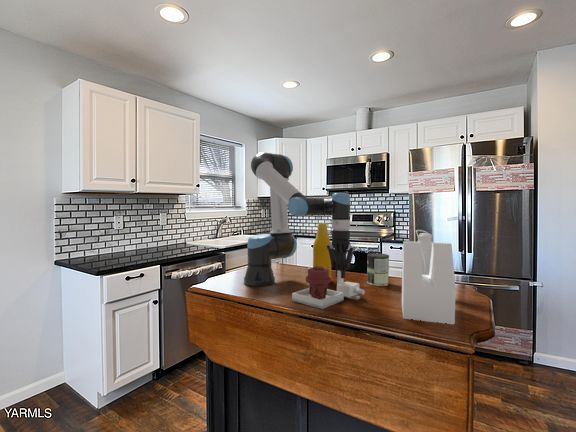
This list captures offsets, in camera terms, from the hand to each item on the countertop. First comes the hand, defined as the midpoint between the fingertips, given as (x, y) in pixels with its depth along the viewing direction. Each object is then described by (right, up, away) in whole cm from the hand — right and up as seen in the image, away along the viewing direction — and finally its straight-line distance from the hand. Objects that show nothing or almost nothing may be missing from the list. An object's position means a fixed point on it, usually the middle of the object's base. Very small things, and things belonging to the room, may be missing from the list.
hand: (340, 285), depth 129 cm
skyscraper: (+37, -5, +3) cm, 37 cm away
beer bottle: (-5, -4, +24) cm, 24 cm away
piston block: (+4, -3, -4) cm, 6 cm away
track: (+2, -4, -2) cm, 5 cm away
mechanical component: (-10, -3, -7) cm, 13 cm away
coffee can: (+22, -4, +21) cm, 30 cm away
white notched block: (+27, -5, -20) cm, 34 cm away
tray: (-10, -4, -7) cm, 13 cm away
